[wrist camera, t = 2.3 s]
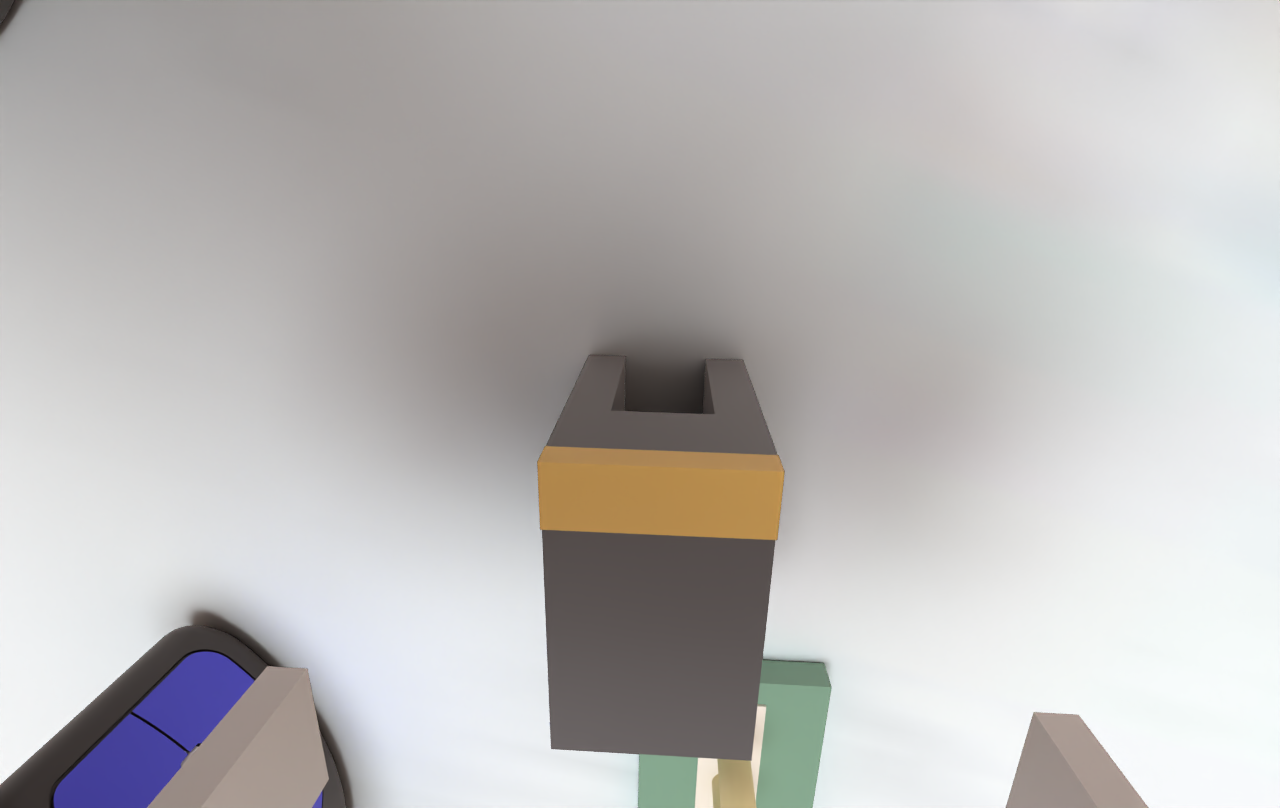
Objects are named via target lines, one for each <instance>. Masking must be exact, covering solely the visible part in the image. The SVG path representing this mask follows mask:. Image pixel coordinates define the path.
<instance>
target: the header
mask: <svg viewBox="0 0 1280 808" xmlns="http://www.w3.org/2000/svg"><path fill="white" fill-rule="evenodd" d="M830 693H831V684H830V681H829V677H828V674H827V671H826V668H825V664H824V663H809V662H790V661H771V660H762V668H761V677H760V686H759V696H758V705H757V714H756V724H755V733H754V742H753V752H752V761H746V760H729V759H712V758H695V757H678V756H661V755H645V754H639V792H638V808H812V807H813V801H814V795H815V788H816V782H817V776H818V769H819V763H820V757H821V750H822V744H823V738H824V731H825V725H826V719H827V712H828V706H829V700H830Z"/></svg>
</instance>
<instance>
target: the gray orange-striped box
mask: <svg viewBox="0 0 1280 808" xmlns="http://www.w3.org/2000/svg"><path fill="white" fill-rule="evenodd" d="M625 373H626V356H606V355H589V356H588V358H587V360H586V362H585V364H584V367H583V369H582V371H581V373H580V375H579V377H578V379H577V381H576V383H575V386H574V388H573V390H572V392H571V394H570V396H569V398H568V400H567V402H566V405H565V407H564V409H563V411H562V413H561V415H560V417H559V419H558V421H557V424H556V426H555V428H554V430H553V432H552V434H551V436H550V438H549V440H548V443H547V445H546V446H545V447H544V449H543V451H542V453H541V455H540V457H539V460H538V462H537V466H538V490H539V513H540V530H542V538H543V563H544V587H545V611H546V636H547V660H548V684H549V708H550V733H551V749H560V750H577V751H594V752H611V753H628V754H645V755H661V756H678V757H695V758H712V759H729V760H746V761H752V752H753V742H754V733H755V724H756V714H757V705H758V696H759V686H760V677H761V668H762V659H763V649H764V640H765V631H766V621H767V612H768V603H769V593H770V584H771V575H772V566H773V556H774V547H775V540H777V537H778V528H779V519H780V510H781V500H782V491H783V482H784V473H785V471H784V469H783V466H782V463H781V461H780V458H779V455H777V452H776V449H775V447H774V444H773V441H772V438H771V436H770V433H769V430H768V427H767V425H766V422H765V419H764V416H763V414H762V411H761V408H760V405H759V403H758V400H757V397H756V394H755V391H754V389H753V386H752V383H751V380H750V378H749V375H748V372H747V369H746V367H745V364H744V361H743V360H731V359H706V364H705V381H704V399H703V414H692V413H664V412H636V411H625Z"/></svg>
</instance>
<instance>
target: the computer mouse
mask: <svg viewBox="0 0 1280 808" xmlns="http://www.w3.org/2000/svg"><path fill="white" fill-rule="evenodd" d="M267 666H268V665H267V664H266V663H265V662H264V661H263V660H262V659H261V658H260V657H259V656H257V655H256V654H255V653H254V652H253V651H252V650H250V649H249V648H248V647H247V646H245V645H244V644H243V643H242V642H240V641H239V640H238V639H236V638H234V637H233V636H231V635H229V634H227V633H225V632H223V631H220V630H217V629H214V628H210V627H206V626H199V625H192V626H185V627H181V628H178V629H176V630H174V631H172V632H170V633H169V634H167V635H166V636H164V637H163V638H162V639H161V640H160V641H159V642H158V643H156V644H155V645H154V646H153V647H152V648H151V649H150V650H149V651H148V652H147V653H145V654H144V655H143V656H142V657H141V658H140V659H139V660H138V661H137V662H135V663H134V664H133V665H132V666H131V667H130V668H129V669H128V670H127V671H126V672H124V673H123V674H122V675H121V676H120V677H119V678H118V679H117V680H116V681H114V682H113V683H112V684H111V685H110V686H109V687H108V688H107V689H106V690H105V691H103V692H102V693H101V694H100V695H99V696H98V697H97V698H96V699H95V700H94V701H92V702H91V703H90V704H89V705H88V706H87V707H86V708H85V709H84V710H82V711H81V712H80V713H79V714H78V715H77V716H76V717H75V718H74V719H73V720H71V721H70V722H69V723H68V724H67V725H66V726H65V727H64V728H63V729H61V730H60V731H59V732H58V733H57V734H56V735H55V736H54V737H53V738H52V739H50V740H49V741H48V742H47V743H46V744H45V745H44V746H43V747H42V748H40V749H39V750H38V751H37V752H36V753H35V754H34V755H33V756H32V757H31V758H29V759H28V760H27V761H26V762H25V763H24V764H23V765H22V766H21V767H20V768H18V769H17V770H16V771H15V772H14V773H13V774H12V775H11V776H10V777H8V778H7V779H6V780H5V781H4V782H3V783H2V784H1V785H0V808H147V807H148V806H149V805H150V803H151V802H152V801H153V800H154V799H155V797H156V796H157V795H158V794H159V793H160V792H161V790H162V789H163V788H164V787H165V786H166V785H167V783H168V782H169V781H170V780H171V779H172V778H173V776H174V775H175V774H176V773H177V772H178V771H179V769H180V768H181V767H182V766H183V765H184V763H185V762H186V761H187V760H188V759H189V758H190V756H191V755H192V754H193V753H194V752H195V751H196V749H197V748H198V747H199V746H200V745H201V744H202V742H203V741H204V740H205V739H206V738H207V737H208V735H209V734H210V733H211V732H212V731H213V729H214V728H215V727H216V726H217V725H218V724H219V722H220V721H221V720H222V719H223V718H224V717H225V715H226V714H227V713H228V712H229V711H230V710H231V708H232V707H233V706H234V705H235V704H236V702H237V701H238V700H239V699H240V698H241V697H242V695H243V694H244V693H245V692H246V691H247V690H248V688H249V687H250V686H251V685H252V684H253V683H254V681H255V680H256V679H257V678H258V677H259V676H260V674H261V673H262V672H263V671H264V670H265V668H266V667H267ZM320 736H321V741H322V746H323V751H324V756H325V761H326V767H327V772H328V777H329V780H328V781H327V783H326V785H325V787H324V788H323V790H322V792H321V793H320V795H319V797H318V798H317V800H316V802H315V804H314V805H313V807H312V808H346V804H345V797H344V792H343V788H342V784H341V781H340V777H339V774H338V771H337V768H336V765H335V763H334V760H333V757H332V755H331V753H330V751H329V748H328V746H327V744H326V742H325V740H324V738H323V737H322V735H321V733H320Z"/></svg>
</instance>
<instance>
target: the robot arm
mask: <svg viewBox="0 0 1280 808" xmlns="http://www.w3.org/2000/svg"><path fill="white" fill-rule="evenodd" d="M14 1H15V0H0V24H1V23H2V21H3V20H4V18H5V17H6V15H7V14H8V12H9V10H10V8H11V6H12V4H13V3H14ZM328 780H329V777H328V772H327V767H326V761H325V756H324V751H323V746H322V741H321V736H320V731H319V726H318V721H317V715H316V710H315V705H314V700H313V695H312V690H311V685H310V680H309V675H308V669H305V668H288V667H272V666H267V667H266V668H265V670H264V671H263V672H262V673H261V674H260V676H259V677H258V678H257V679H256V680H255V681H254V683H253V684H252V685H251V686H250V687H249V688H248V690H247V691H246V692H245V693H244V694H243V695H242V697H241V698H240V699H239V700H238V701H237V702H236V704H235V705H234V706H233V707H232V708H231V710H230V711H229V712H228V713H227V714H226V715H225V717H224V718H223V719H222V720H221V721H220V722H219V724H218V725H217V726H216V727H215V728H214V729H213V731H212V732H211V733H210V734H209V735H208V737H207V738H206V739H205V740H204V741H203V742H202V744H201V745H200V746H199V747H198V748H197V749H196V751H195V752H194V753H193V754H192V755H191V756H190V758H189V759H188V760H187V761H186V762H185V763H184V765H183V766H182V767H181V768H180V769H179V771H178V772H177V773H176V774H175V775H174V776H173V778H172V779H171V780H170V781H169V782H168V783H167V785H166V786H165V787H164V788H163V789H162V790H161V792H160V793H159V794H158V795H157V796H156V797H155V799H154V800H153V801H152V802H151V803H150V805H149V806H148V807H147V808H312V807H313V805H314V804H315V802H316V800H317V798H318V797H319V795H320V793H321V792H322V790H323V788H324V787H325V785H326V783H327V781H328ZM1006 808H1148V806H1147V805H1146V804H1145V802H1144V801H1143V800H1142V798H1141V797H1140V796H1139V794H1138V793H1137V792H1136V791H1135V789H1134V788H1133V787H1132V785H1131V784H1130V783H1129V781H1128V780H1127V779H1126V777H1125V776H1124V775H1123V773H1122V772H1121V771H1120V769H1119V768H1118V767H1117V765H1116V764H1115V763H1114V761H1113V760H1112V759H1111V757H1110V756H1109V755H1108V753H1107V752H1106V751H1105V749H1104V748H1103V747H1102V745H1101V744H1100V743H1099V741H1098V740H1097V739H1096V737H1095V736H1094V735H1093V733H1092V732H1091V731H1090V729H1089V728H1088V727H1087V725H1086V724H1085V723H1084V721H1083V720H1082V719H1081V717H1080V716H1079V715H1073V714H1056V713H1039V712H1034V713H1033V716H1032V719H1031V723H1030V726H1029V730H1028V733H1027V737H1026V740H1025V743H1024V747H1023V750H1022V754H1021V757H1020V761H1019V764H1018V767H1017V771H1016V774H1015V778H1014V781H1013V785H1012V788H1011V791H1010V795H1009V798H1008V802H1007V805H1006Z"/></svg>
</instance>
